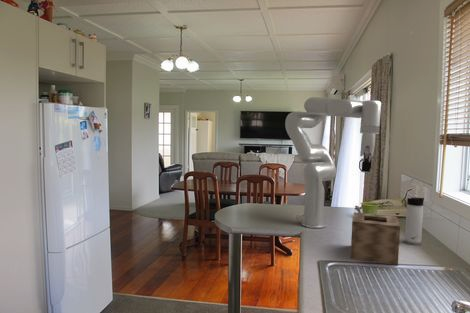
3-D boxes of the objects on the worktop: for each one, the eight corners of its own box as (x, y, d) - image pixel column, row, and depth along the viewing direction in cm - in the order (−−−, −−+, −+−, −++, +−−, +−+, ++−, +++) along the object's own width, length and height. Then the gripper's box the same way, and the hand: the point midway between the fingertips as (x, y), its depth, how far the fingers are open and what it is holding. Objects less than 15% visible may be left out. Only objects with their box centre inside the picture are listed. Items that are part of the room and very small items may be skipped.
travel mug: (415, 246, 146) (418, 198, 144) (401, 241, 152) (404, 196, 150) (425, 244, 149) (427, 197, 147) (411, 239, 154) (413, 195, 153)
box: (350, 258, 129) (352, 221, 128) (352, 245, 144) (354, 212, 143) (397, 265, 124) (400, 226, 123) (395, 251, 139) (397, 216, 138)
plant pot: (372, 222, 183) (373, 206, 183) (356, 218, 191) (357, 203, 190) (381, 220, 189) (382, 204, 189) (365, 216, 197) (366, 201, 196)
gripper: (361, 129, 157) (358, 167, 158) (358, 129, 141) (355, 171, 142) (379, 130, 154) (376, 168, 155) (378, 130, 138) (375, 173, 139)
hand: (366, 170), depth 149 cm, fingers open, 9 cm apart
